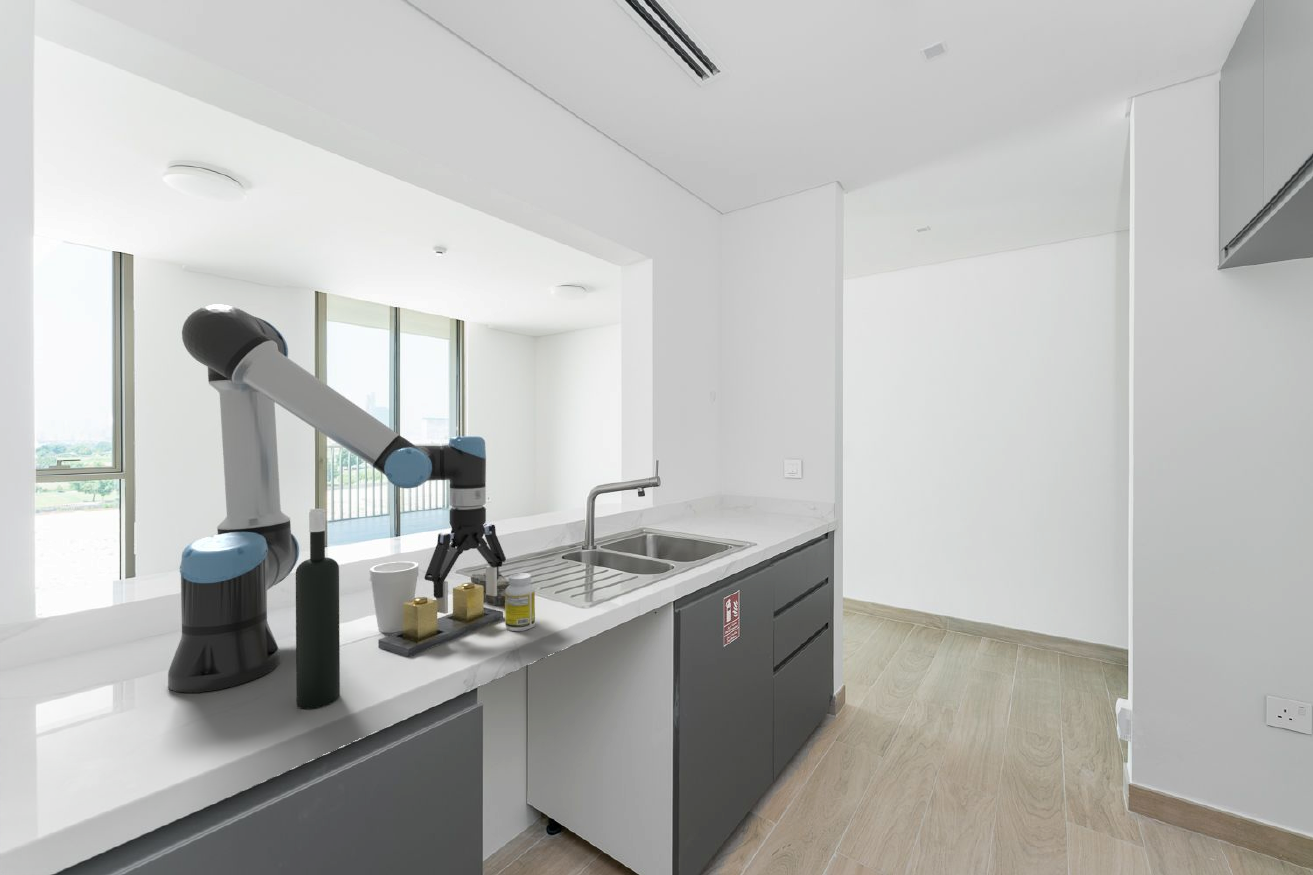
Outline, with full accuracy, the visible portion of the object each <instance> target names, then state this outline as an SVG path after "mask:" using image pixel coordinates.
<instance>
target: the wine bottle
mask: <svg viewBox="0 0 1313 875" xmlns="http://www.w3.org/2000/svg"><path fill="white" fill-rule="evenodd" d="M308 516H309V517H308V518H309V519H308V520H309V522H308V523H309V524H308V526H309V528H308V529H309V530H308V532H309V548H310V549H309V558H308V559H305V560H304V561H302V562H301V563H300V564H298V566H297V568H296V569H295V658H296V659H295V669H296V670H295V677H296V678H295V680H296V683H295V684H296V685H295V686H296V687H295V688H296V689H295V690H296V697H295V698H296V701H295V702H296V704H295V705H296V707H297V708H299V709H301V710H313V709H319V708H323V707H326V706H329V705H331V704H333V703H334V702H336V701H337V700H338V699H339V698H340V697H341V694H340V693H341V690H340V689H341V686H340V684H341V682H340V681H341V679H340V678H341V676H340V675H341V673H340V671H341V670H340V669H341V667H340V665H341V664H340V663H341V662H340V661H341V660H340V658H341V657H340V648H341V646H340V644H341V643H340V566H339V563H338V562H337V561H336V560H335V559H333V558H331V557H326V529H327V528H326V510H325V509H324V508H321V507H320V508H313V509H312V508H311V509H309V513H308Z"/></svg>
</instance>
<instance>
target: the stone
mask: <svg viewBox="0 0 1313 875" xmlns="http://www.w3.org/2000/svg"><path fill="white" fill-rule="evenodd" d="M498 575H499V578H498V580H497V596H490V595H486V572H484V573H483V574H482V573H481V574H477V573H472V574H471V575H470V581H471V582H470V583H474V584H477V585H482V586H483V602H485V604H488V605H494V606H495V607H501V606H503V605H504V606H505V590H506V588H507V587H508V586H509V585H510V584H509V580H508V579H506V578H505V577H504V576H503V574H501V572H499V574H498Z"/></svg>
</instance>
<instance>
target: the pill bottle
mask: <svg viewBox="0 0 1313 875" xmlns="http://www.w3.org/2000/svg"><path fill="white" fill-rule="evenodd" d="M508 581H509V584H510V585H509V586H508V587H507V588H506V590H505V604H504V607H505V608H504V610H505V611H504V612H505V613H504V615H505V617H504V618H505V620H504V621H505V622H504V623H505V628H506V629H507V630H509V631H513V632H523V631H527V630H530V629H532V628H534V627H535V622H536V620H535V619H536V617H535V616H536V611H535V610H536V607H535V606H536V605H535V603H536V602H535V600H536V599H535V597H536V594H535V587H534V585H533V584H531V582H532V575H531V574H530V573H527V572H519V573H513V574H510V575H509V576H508Z"/></svg>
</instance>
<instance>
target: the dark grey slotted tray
mask: <svg viewBox="0 0 1313 875" xmlns="http://www.w3.org/2000/svg"><path fill="white" fill-rule="evenodd" d="M503 619H504V611H503V610H502V611H501V610H498V609H493V608H488V607H484V606H483V617H482V618H479V619H477V620H474V621H471V622H469V623H463V622H459V621H455V620H453V612H452V613H450V614H445V615H444V616H441V617H437V635H435V636H433V637H430V638H427V639H425V640H422V641H420V642H417V643H416V642H413V641H410V640H406V639H403V630H402V631H398V632H395V633H393V634H391V635H387V636H385V637H382V638H379V639H378V645H377V646H378V648H380V649H383V650H385V651H387V652H388V651H389V652H392V653H395V654H398V655H401V656H405V657H407V658H410V657H411V656H414V655H417V654H419V653H421V652H424V651H427V650H428V649H432V648H434V647H437V646H438V645H440V644H444V643H446V642H448V641H451V640H453V639H455V638H458V637H460V636H463V635H466V634H468V633H470V632H473V631H476V630H478V629H481V628H483V627H485V626H488V625H490V624H493V623H495V622H498V621H500V620H503Z"/></svg>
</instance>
